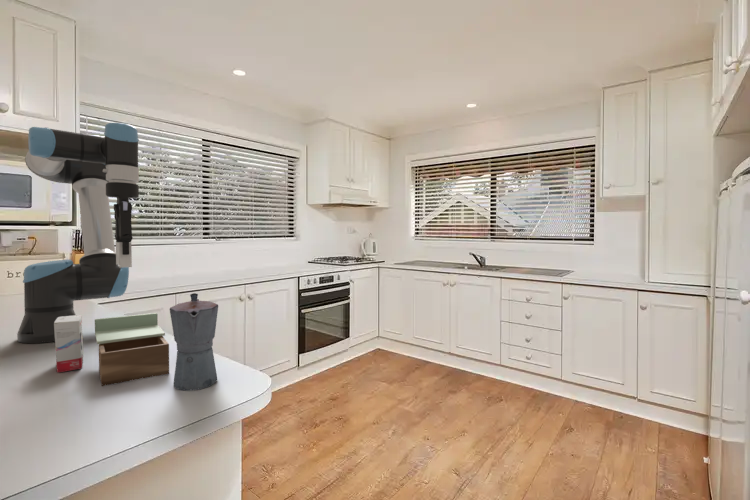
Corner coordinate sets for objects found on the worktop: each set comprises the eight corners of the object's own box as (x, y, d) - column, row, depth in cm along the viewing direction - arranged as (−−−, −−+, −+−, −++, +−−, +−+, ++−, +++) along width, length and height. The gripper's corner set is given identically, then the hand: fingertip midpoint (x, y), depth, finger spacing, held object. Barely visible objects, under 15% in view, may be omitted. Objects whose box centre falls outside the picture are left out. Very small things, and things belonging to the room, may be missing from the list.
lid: (94, 333, 100) (94, 319, 99) (157, 326, 108) (156, 312, 108) (97, 344, 90) (96, 328, 90) (164, 335, 99) (164, 321, 98)
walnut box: (99, 371, 94) (98, 341, 93) (161, 361, 101) (160, 333, 101) (101, 386, 85) (101, 353, 84) (169, 373, 93) (168, 344, 92)
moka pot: (170, 399, 79) (169, 299, 78) (170, 374, 92) (169, 288, 91) (221, 391, 83) (221, 296, 82) (214, 368, 97) (213, 286, 96)
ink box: (81, 370, 94) (80, 320, 94) (54, 373, 92) (53, 323, 91) (83, 359, 102) (83, 314, 101) (58, 363, 99) (57, 316, 98)
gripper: (103, 185, 114) (104, 263, 115) (108, 177, 96) (110, 269, 97) (133, 187, 118) (134, 262, 119) (144, 180, 101) (145, 268, 102)
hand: (123, 265), depth 108 cm, fingers open, 9 cm apart
